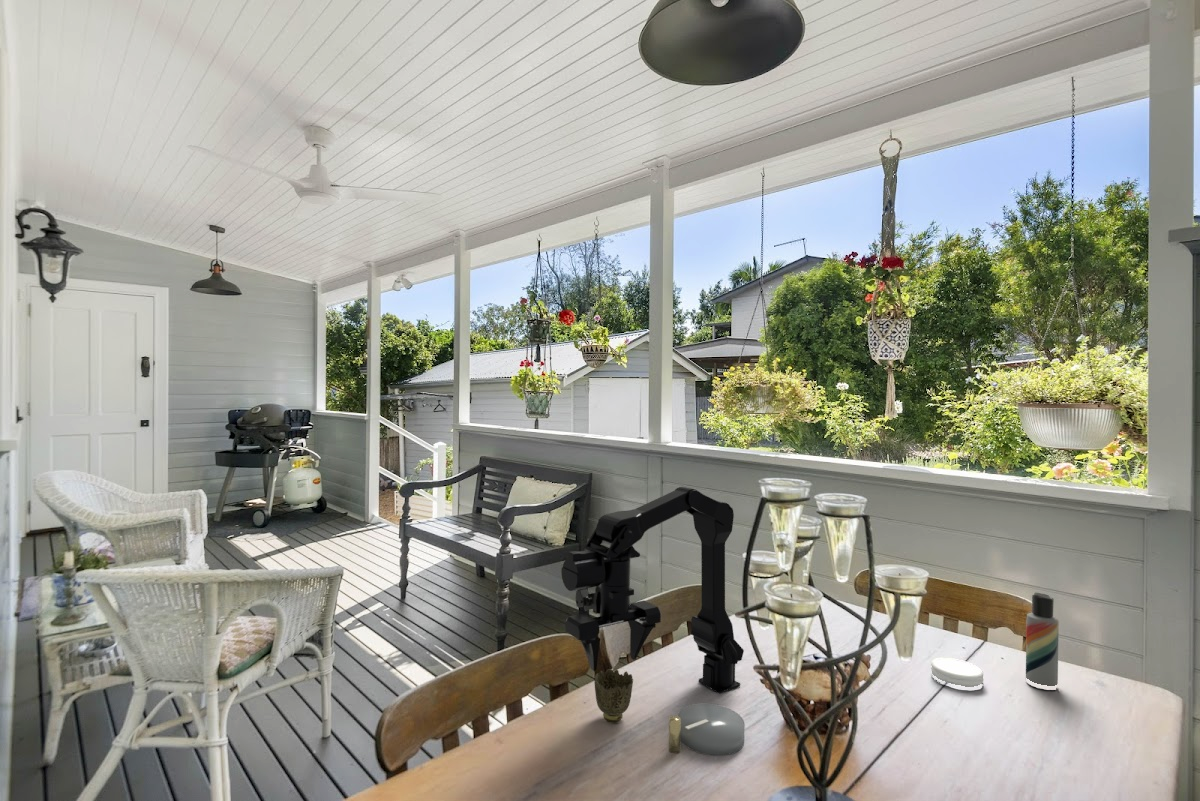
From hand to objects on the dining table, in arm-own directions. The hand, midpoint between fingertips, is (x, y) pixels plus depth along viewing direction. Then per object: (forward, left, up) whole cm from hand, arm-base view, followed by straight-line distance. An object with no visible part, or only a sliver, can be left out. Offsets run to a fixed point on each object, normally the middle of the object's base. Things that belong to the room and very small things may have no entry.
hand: (613, 664), depth 114 cm
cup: (0, 0, -11) cm, 11 cm away
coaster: (-75, +26, -11) cm, 80 cm away
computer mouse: (-12, +14, -10) cm, 21 cm away
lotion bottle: (-89, +37, -11) cm, 97 cm away
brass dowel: (-3, +14, -10) cm, 18 cm away
